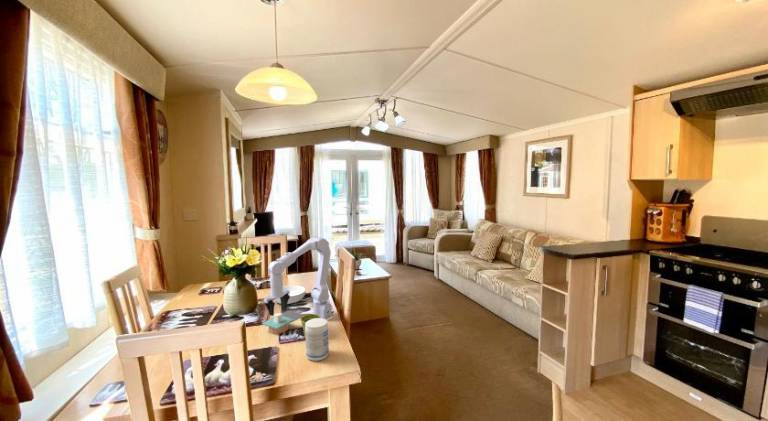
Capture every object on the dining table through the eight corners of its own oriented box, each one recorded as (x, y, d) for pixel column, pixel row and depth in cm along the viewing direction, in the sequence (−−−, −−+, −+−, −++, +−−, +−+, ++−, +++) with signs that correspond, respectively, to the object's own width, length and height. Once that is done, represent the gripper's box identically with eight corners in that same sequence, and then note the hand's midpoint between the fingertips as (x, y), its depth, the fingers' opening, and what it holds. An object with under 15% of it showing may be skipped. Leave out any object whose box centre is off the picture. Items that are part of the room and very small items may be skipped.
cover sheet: (294, 320, 162) (294, 312, 162) (277, 329, 153) (276, 321, 152) (279, 316, 168) (278, 308, 167) (261, 324, 158) (261, 316, 158)
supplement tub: (329, 360, 133) (328, 326, 132) (306, 363, 131) (304, 328, 130) (328, 348, 143) (327, 316, 141) (306, 351, 141) (305, 318, 139)
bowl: (291, 328, 162) (291, 320, 162) (277, 336, 154) (277, 328, 154) (279, 324, 167) (279, 317, 166) (265, 331, 159) (264, 323, 158)
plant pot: (324, 333, 157) (324, 315, 156) (312, 341, 149) (312, 323, 148) (309, 329, 161) (308, 312, 160) (296, 337, 152) (296, 320, 152)
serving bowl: (300, 308, 188) (300, 296, 188) (265, 308, 189) (265, 296, 188) (309, 295, 209) (309, 285, 208) (277, 295, 209) (277, 285, 209)
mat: (305, 315, 177) (305, 314, 177) (287, 324, 166) (287, 324, 166) (289, 310, 184) (288, 310, 184) (270, 319, 173) (270, 318, 173)
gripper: (282, 280, 166) (283, 305, 168) (259, 288, 154) (260, 316, 155) (292, 282, 163) (293, 308, 164) (269, 291, 150) (270, 319, 152)
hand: (277, 312), depth 160 cm, fingers open, 7 cm apart
